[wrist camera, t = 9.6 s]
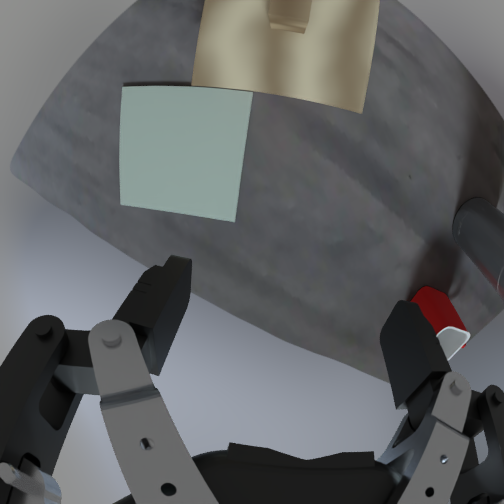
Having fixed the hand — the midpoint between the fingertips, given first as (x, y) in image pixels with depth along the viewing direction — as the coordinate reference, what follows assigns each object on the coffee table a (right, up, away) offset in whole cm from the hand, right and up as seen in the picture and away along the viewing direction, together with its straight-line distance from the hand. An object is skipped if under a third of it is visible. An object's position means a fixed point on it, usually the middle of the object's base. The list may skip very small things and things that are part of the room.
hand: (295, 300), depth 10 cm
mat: (-12, +15, +26) cm, 32 cm away
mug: (+32, -9, +35) cm, 48 cm away
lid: (+2, +23, +9) cm, 25 cm away
